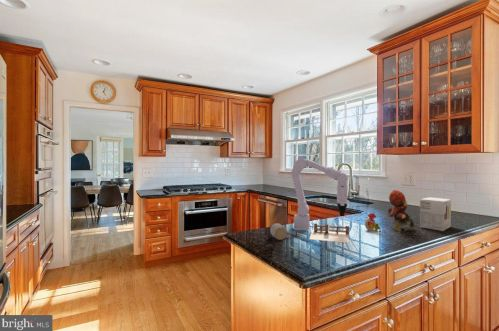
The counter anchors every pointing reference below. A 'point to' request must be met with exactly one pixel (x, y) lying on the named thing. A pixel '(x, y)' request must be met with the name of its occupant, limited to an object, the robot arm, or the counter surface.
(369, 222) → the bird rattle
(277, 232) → the ceramic mug
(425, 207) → the supplement box
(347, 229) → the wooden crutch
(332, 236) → the card
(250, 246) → the counter surface
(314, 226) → the frame
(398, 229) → the stuffed monkey
